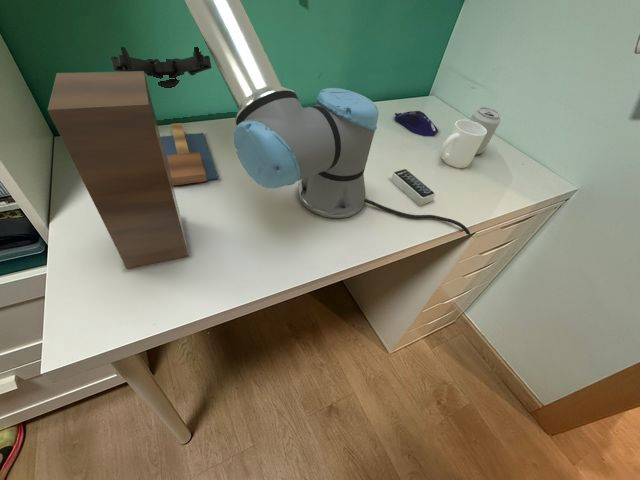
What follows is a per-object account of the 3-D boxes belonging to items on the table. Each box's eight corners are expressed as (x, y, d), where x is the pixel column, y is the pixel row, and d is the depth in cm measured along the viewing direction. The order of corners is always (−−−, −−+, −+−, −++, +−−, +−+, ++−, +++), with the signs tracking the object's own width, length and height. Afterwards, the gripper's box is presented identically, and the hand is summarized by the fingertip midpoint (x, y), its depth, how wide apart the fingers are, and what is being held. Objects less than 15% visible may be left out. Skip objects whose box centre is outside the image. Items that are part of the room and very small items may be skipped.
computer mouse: (431, 139, 100) (436, 127, 97) (387, 122, 105) (391, 110, 102) (440, 128, 106) (445, 116, 103) (398, 112, 110) (402, 101, 107)
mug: (443, 173, 88) (460, 139, 81) (424, 156, 93) (438, 123, 85) (475, 166, 93) (493, 133, 85) (455, 150, 98) (471, 118, 90)
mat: (154, 139, 83) (153, 137, 82) (203, 134, 87) (202, 132, 86) (161, 187, 71) (160, 185, 70) (218, 179, 75) (217, 177, 74)
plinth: (125, 229, 61) (56, 72, 41) (181, 219, 65) (143, 70, 45) (126, 269, 55) (47, 109, 35) (188, 256, 59) (148, 104, 39)
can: (458, 152, 97) (477, 113, 88) (457, 140, 102) (475, 102, 93) (483, 158, 96) (505, 120, 87) (481, 146, 101) (502, 108, 92)
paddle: (163, 131, 84) (161, 124, 83) (191, 129, 87) (190, 122, 85) (173, 185, 71) (171, 178, 69) (206, 181, 73) (205, 173, 72)
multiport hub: (419, 205, 77) (422, 198, 76) (390, 179, 83) (392, 172, 81) (432, 201, 79) (436, 193, 77) (402, 175, 85) (405, 168, 83)
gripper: (217, 87, 90) (228, 73, 71) (114, 91, 81) (96, 77, 63) (212, 56, 87) (222, 34, 69) (105, 58, 79) (84, 32, 60)
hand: (162, 54), depth 66 cm, fingers open, 13 cm apart
